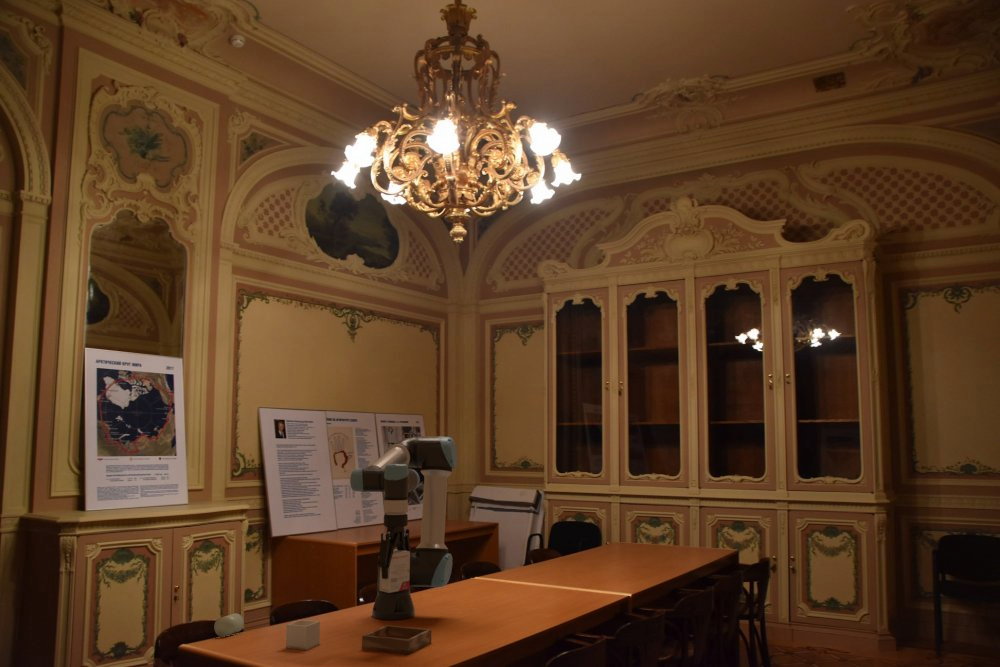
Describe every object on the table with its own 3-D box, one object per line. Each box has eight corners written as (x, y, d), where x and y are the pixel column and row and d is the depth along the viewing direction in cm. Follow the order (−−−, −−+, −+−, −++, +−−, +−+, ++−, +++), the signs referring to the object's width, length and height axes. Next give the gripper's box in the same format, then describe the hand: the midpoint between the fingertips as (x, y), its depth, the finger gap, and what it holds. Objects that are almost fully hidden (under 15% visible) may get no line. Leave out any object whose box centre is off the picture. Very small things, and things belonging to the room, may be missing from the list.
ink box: (400, 587, 263) (400, 549, 264) (410, 589, 259) (411, 551, 261) (378, 591, 256) (378, 552, 258) (388, 593, 253) (389, 553, 254)
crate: (386, 638, 265) (386, 625, 266) (431, 642, 260) (431, 629, 260) (361, 649, 252) (362, 635, 252) (408, 654, 246) (408, 640, 246)
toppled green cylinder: (241, 633, 273) (227, 629, 276) (244, 615, 274) (230, 611, 276) (227, 638, 267) (213, 634, 269) (230, 620, 267) (215, 615, 269)
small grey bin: (300, 642, 260) (300, 619, 261) (319, 644, 257) (319, 621, 258) (286, 648, 254) (286, 624, 254) (305, 650, 251) (306, 626, 252)
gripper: (402, 510, 272) (401, 580, 269) (366, 516, 252) (365, 591, 249) (423, 510, 269) (422, 581, 266) (387, 517, 249) (386, 593, 246)
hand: (394, 586), depth 258 cm, fingers closed on ink box, 9 cm apart
